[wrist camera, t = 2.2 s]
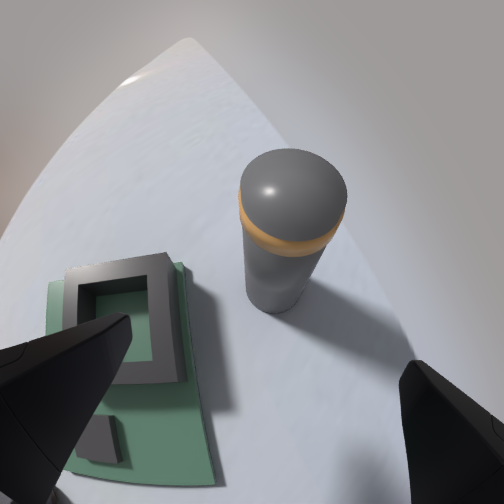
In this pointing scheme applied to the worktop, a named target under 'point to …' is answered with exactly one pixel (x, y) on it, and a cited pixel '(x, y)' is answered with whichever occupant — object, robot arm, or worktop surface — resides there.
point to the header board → (139, 374)
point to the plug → (287, 223)
